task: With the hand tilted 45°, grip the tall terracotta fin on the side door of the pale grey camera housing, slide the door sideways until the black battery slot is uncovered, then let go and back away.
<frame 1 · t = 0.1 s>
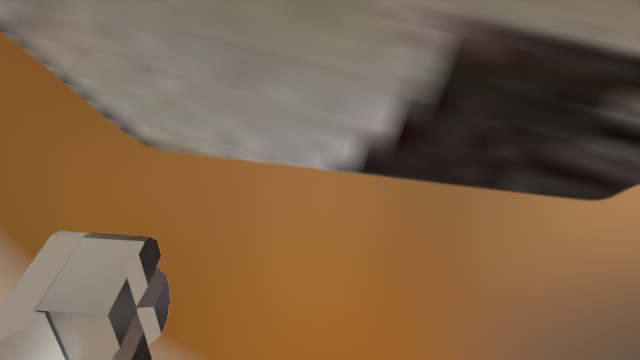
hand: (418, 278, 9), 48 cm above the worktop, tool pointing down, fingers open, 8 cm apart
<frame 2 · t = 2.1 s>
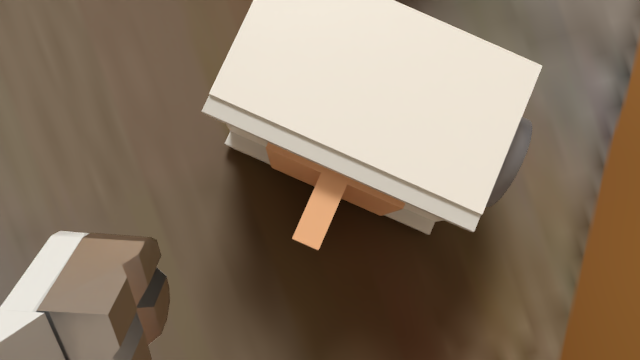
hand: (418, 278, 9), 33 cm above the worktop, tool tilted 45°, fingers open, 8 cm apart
side door: (319, 209, 36), point 6 cm above the worktop, slide at 0.0 cm
camera housing: (355, 123, 43), on the worktop
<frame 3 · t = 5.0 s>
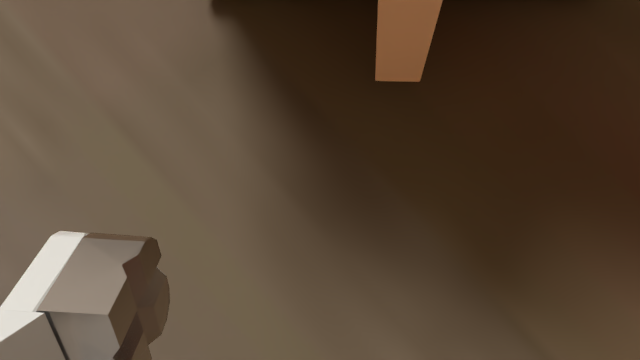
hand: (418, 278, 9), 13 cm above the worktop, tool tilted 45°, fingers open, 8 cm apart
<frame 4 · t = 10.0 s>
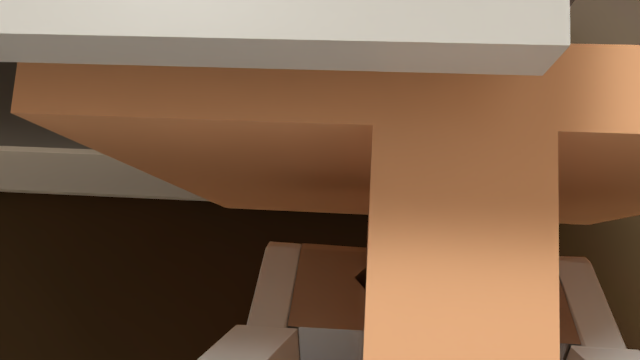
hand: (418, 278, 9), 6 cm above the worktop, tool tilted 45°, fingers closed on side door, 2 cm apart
side door: (416, 293, 9), point 6 cm above the worktop, slide at 7.5 cm, touching gripper
camera housing: (139, 7, 16), on the worktop
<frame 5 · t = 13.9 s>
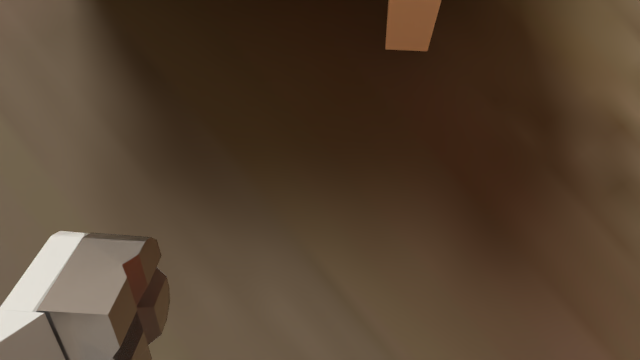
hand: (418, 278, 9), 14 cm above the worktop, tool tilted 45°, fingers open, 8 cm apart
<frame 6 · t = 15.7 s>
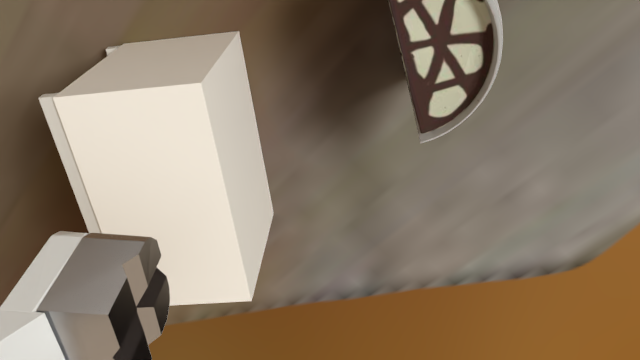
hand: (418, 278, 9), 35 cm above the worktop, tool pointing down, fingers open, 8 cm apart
camera housing: (203, 134, 47), on the worktop
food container: (433, 3, 41), on the worktop
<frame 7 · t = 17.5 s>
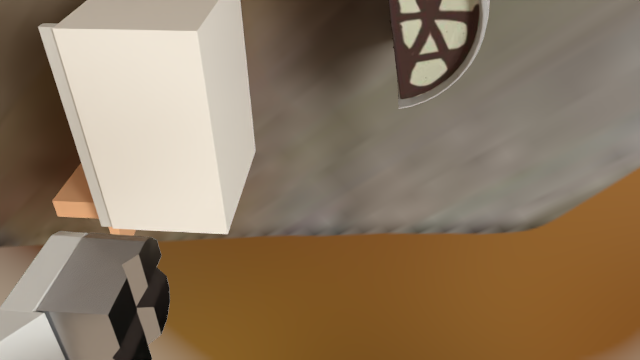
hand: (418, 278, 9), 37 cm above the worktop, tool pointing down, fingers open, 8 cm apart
side door: (105, 178, 49), point 6 cm above the worktop, slide at 7.6 cm
camera housing: (194, 69, 48), on the worktop
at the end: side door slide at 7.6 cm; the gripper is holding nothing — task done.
